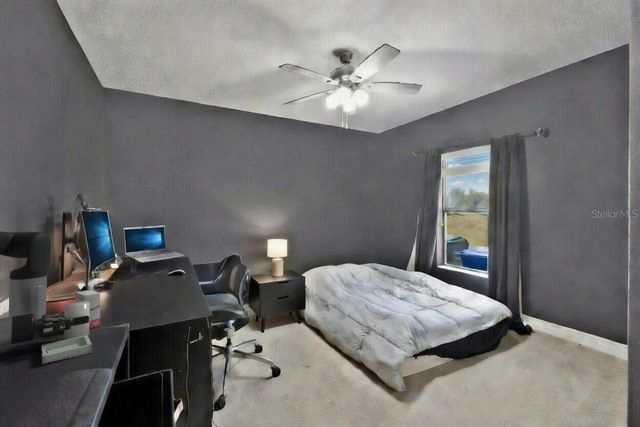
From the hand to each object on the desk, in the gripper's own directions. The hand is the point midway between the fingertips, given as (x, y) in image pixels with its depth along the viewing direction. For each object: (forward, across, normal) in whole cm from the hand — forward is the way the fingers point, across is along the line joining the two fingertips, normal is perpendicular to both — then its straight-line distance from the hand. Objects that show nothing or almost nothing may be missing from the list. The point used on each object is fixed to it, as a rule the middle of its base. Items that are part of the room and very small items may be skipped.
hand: (87, 316), depth 91 cm
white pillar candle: (-2, 0, +6) cm, 7 cm away
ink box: (+2, +13, +7) cm, 15 cm away
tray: (-5, -10, +6) cm, 13 cm away
